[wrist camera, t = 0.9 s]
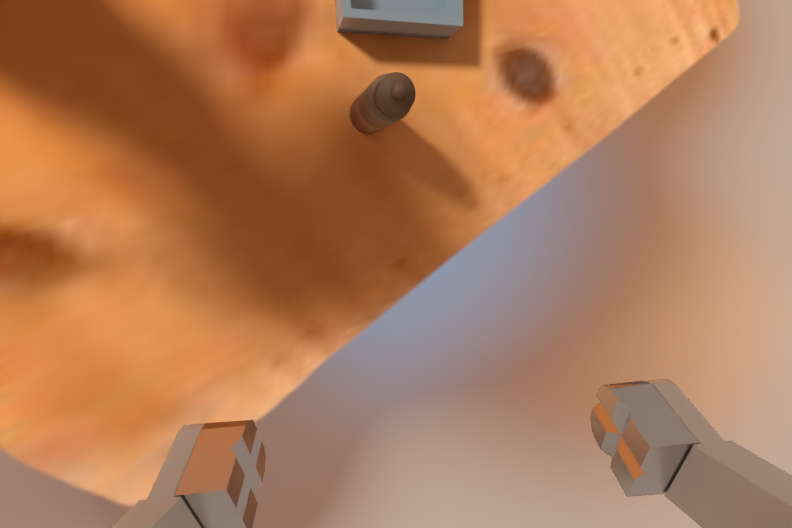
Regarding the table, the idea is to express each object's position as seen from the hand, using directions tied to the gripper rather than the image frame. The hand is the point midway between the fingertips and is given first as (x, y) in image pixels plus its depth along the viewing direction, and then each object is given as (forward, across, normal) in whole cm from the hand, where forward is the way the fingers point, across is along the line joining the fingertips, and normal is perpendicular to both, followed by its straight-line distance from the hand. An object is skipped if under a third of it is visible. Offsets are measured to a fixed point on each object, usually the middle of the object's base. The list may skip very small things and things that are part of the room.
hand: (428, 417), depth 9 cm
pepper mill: (+40, +1, +1) cm, 40 cm away
